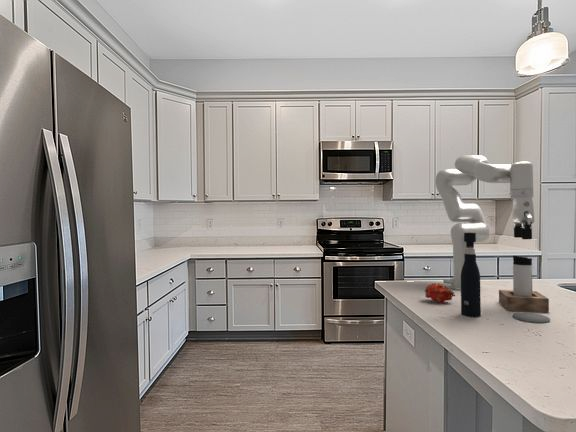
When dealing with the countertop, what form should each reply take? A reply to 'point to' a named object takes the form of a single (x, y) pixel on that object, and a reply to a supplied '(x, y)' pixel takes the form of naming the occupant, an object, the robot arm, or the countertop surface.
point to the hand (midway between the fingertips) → (522, 238)
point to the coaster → (531, 317)
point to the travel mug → (522, 276)
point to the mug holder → (524, 301)
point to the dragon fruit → (438, 293)
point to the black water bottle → (470, 280)
